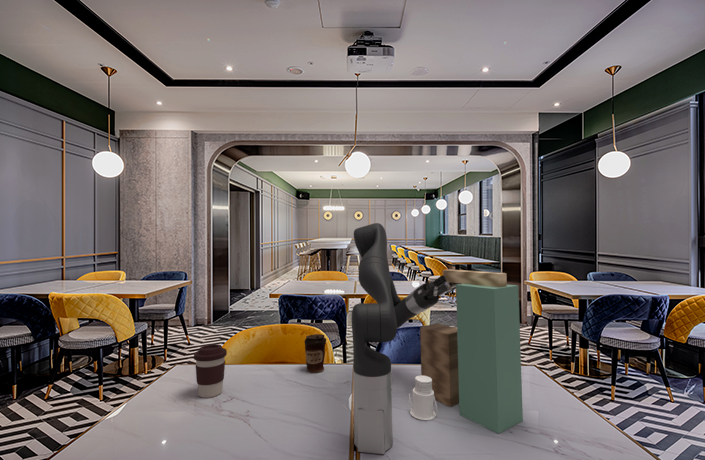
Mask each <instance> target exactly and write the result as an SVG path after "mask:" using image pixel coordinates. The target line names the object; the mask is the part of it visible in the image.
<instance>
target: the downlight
mask: <svg viewBox="0 0 705 460" xmlns="http://www.w3.org/2000/svg"><path fill="white" fill-rule="evenodd" d="M414 381H415V382H414V387H413V388H412V399H411V393H409V394H408V401H409V405H410V412H409V413H410V415H411V416H412V417H413V418H415V419H417V420H421V421H432V420H434V419H435V418H436V415H437V414H438V411H439V410H438V408H439V407H438V406H437V400H435V397H434V391H433V390H432V379H431V378H430V377H428V376H421V375H417V376H415V379H414ZM434 405H435V408H434ZM434 409H436V412H435V411H434Z"/></svg>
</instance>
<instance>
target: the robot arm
mask: <svg viewBox="0 0 705 460" xmlns="http://www.w3.org/2000/svg"><path fill="white" fill-rule="evenodd" d="M353 239H354V243H355V246H356V249H357V251H358V253H359V256H360V258H361V259H360V261H359V264H358V276H357V277H358V282H359V285H360V286H361V287H362V289H363V290H364V291H365V292H366V293H367V294H368V295H369V296H370V297H371V298H372V299H373V300H374V301H375V303H373V302H371V303H367V302H366V303H355V305H353V308H352V309H351V333H352V348H353V349H352V350H353V351H352V352H353V354H352V355H353V359H352V360H353V364H352V365H353V366H352V368H353V369H352V371H353V372H352V374H353V427H354V428H353V429H354V431H353V433H354V434H353V435H354V440H353V441H354V445H355V447H356V449H357V452H359V453H367V454H368V453H369V454H377V455H384V454H385V452H386V451H388V450H390V448H391V447H392V446H393V443H394V442H393V440H394V439H393V438H394V437H393V400H392V399H393V397H392V361H391V358H390V356H388V355H387V354H384V353H382V352H379V351H377V350H375V349H373V348H371V347H370V346H368V345H367V343H389V342H393V340H394V339H395V338H396V336H397V329H399V328H401V326H403V325H404V324H405V323H406V322H408V321H409V320H410V319H411V318H412V319H413V318H414V317H416V316H417V315H419V314H421V313H424V312H425V311H426V310H428V309H430V308H431V307H433V306H435V305H437V303H438V302H439V301H440V296H442V295H444V294H450V293H451V292H454V291H456V285H459V284H461V283H452V282H447V280H446V278H445V276H444V275H443V274H442V275H440V276H439V277H438V278H435V279H434V280H431V281H425V282H424V283H423V284H421V285H419V286H418V287H417V288H415V289H414V290H413V291H411V292H410V293H409V294H408V295H407V296H405V297H404V298H403V299H401V298H400V296H399V295H398V292H397V288H396V285H395V283H394V281H393V279H392V277H391V273H390V265H389V260H388V236H387V232H386V229H385V227H384V226H383V224H381V223H380V222H375V223H370V224H367V225H364V226H360V227H357V228H355V229H354V231H353Z"/></svg>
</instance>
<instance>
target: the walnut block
mask: <svg viewBox="0 0 705 460" xmlns="http://www.w3.org/2000/svg"><path fill="white" fill-rule="evenodd" d="M419 329H420V333H419V334H420V376H428V377H430V378H431V379H432V390H433V391H434V397H435V401H436V402H439V403H441V404H444V405H445V406H448V407H449V408H452V407H454V406H456V405H459V377H458V340H457V327H454V326H450V325H446V324H441V323H437V322H436V323H433V324H427V325H422V326H420V327H419Z"/></svg>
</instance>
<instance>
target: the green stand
mask: <svg viewBox="0 0 705 460" xmlns="http://www.w3.org/2000/svg"><path fill="white" fill-rule="evenodd" d="M455 292H456V293H455V296H456V301H455V303H456V328H457V340H458V377H459V404H458V407H459V408H458V409H459V413H458V414H459V415H460V416H461V417H464V418H466V419H467V420H470V421H472V422H473V423H475V424H478V425H480V426H482V427H484V428H486V429H488V430H490V431H492V432H494V433H497V434H501V433H503V432H505V431H507V430H508V429H510V428H513V427H514V426H515V425H517V424H519V423H521V422H523V421H524V413H523V412H524V411H523V385H522V384H523V381H522V356H521V354H522V351H521V327H520V325H521V324H520V323H521V322H520V321H521V320H520V297H519V295H520V293H519V285H516V284H507V286H506V287H490V286H481V285H471V284H462V283H460V284H459V285H456V289H455Z"/></svg>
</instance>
